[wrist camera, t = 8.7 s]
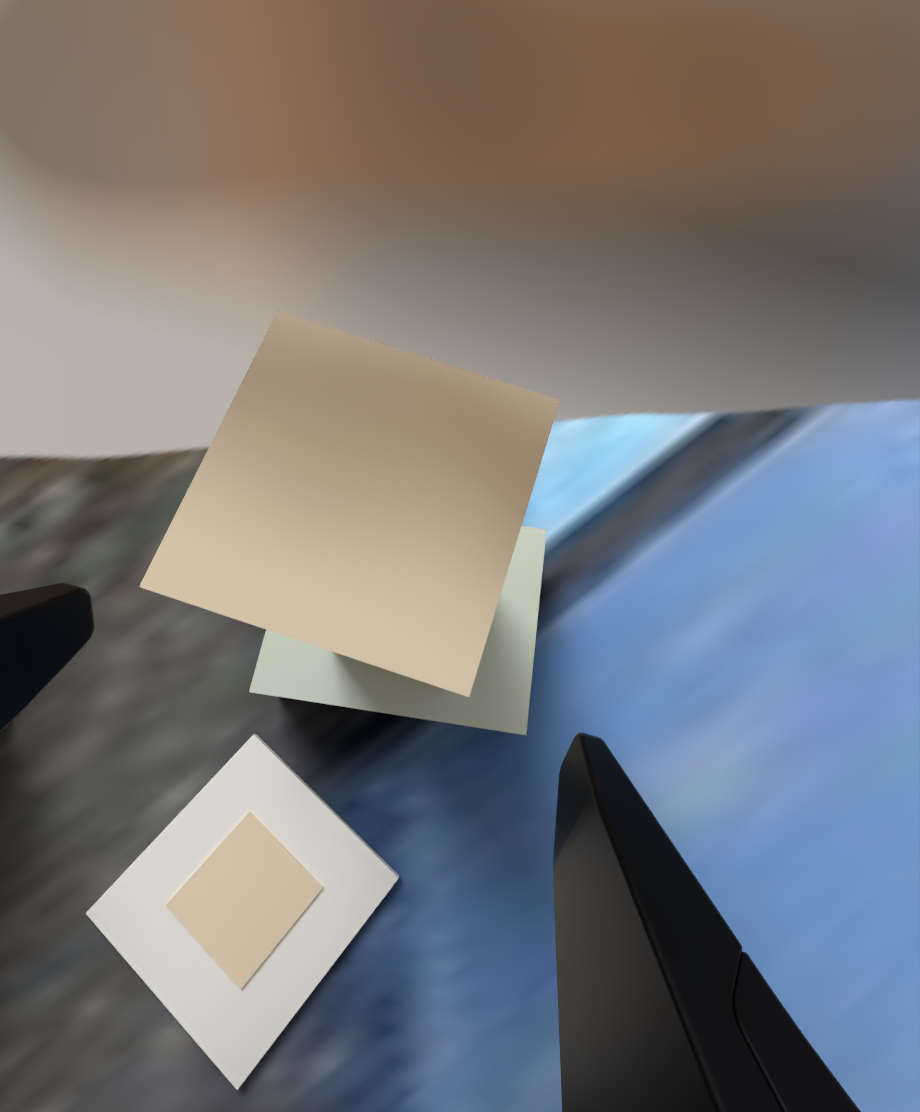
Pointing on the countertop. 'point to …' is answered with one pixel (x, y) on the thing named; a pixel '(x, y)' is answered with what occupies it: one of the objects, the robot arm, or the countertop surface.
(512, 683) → the sage slab
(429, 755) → the countertop surface
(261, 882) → the card
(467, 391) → the beech pillar
